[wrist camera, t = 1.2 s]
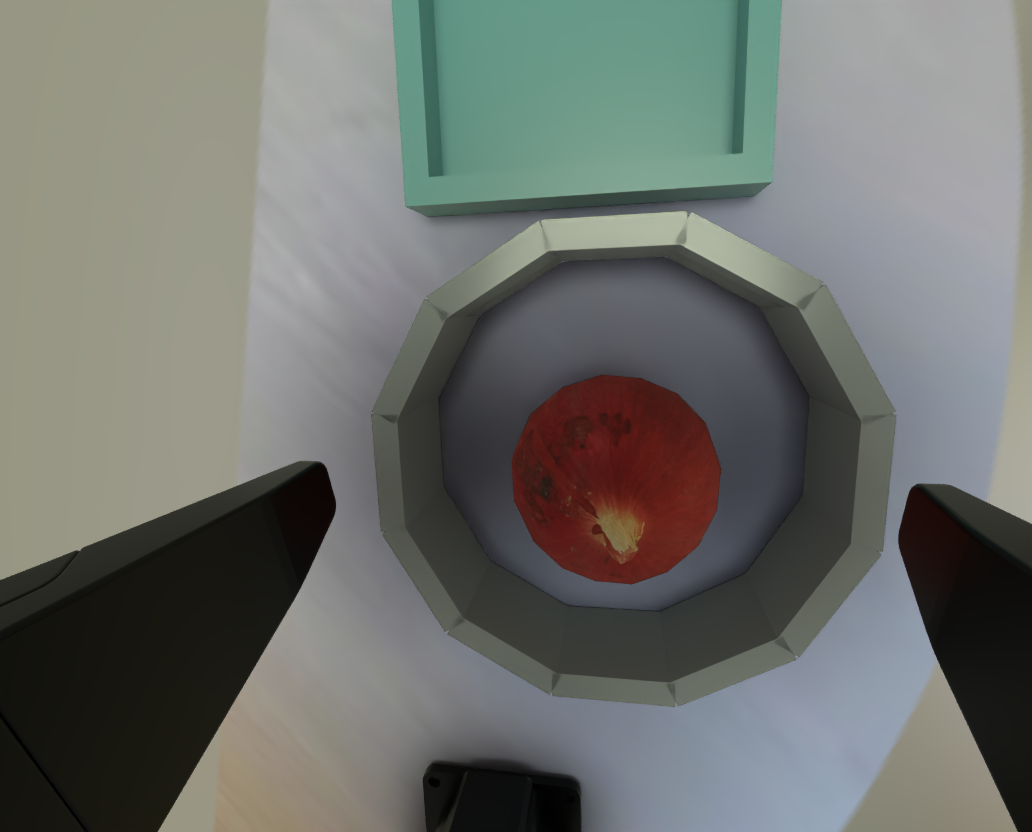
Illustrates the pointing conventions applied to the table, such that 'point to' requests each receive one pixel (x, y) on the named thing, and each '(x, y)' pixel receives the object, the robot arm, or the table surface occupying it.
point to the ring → (700, 619)
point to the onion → (616, 478)
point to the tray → (584, 101)
